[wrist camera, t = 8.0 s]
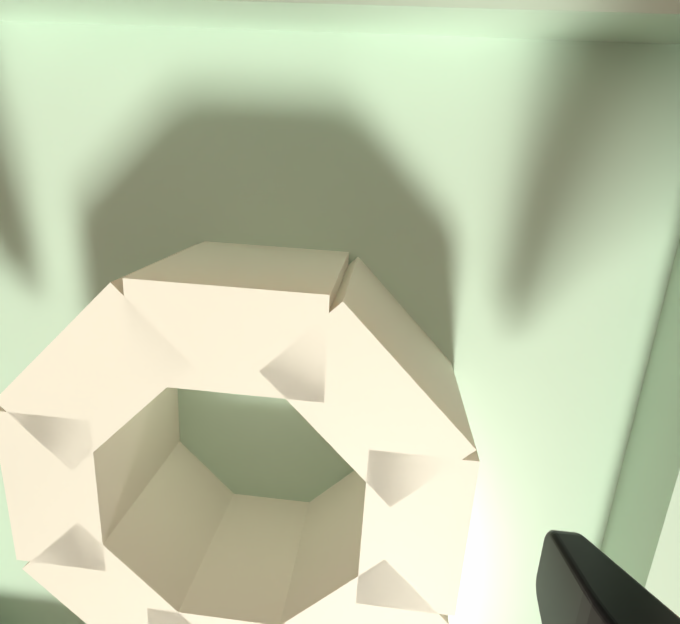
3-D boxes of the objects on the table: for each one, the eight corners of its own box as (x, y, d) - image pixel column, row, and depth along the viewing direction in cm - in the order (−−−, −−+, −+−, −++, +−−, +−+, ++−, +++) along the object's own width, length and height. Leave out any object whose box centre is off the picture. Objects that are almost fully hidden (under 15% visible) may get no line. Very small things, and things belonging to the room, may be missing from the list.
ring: (121, 535, 12) (33, 659, 9) (94, 232, 10) (-34, 265, 7) (426, 572, 11) (438, 717, 8) (468, 261, 9) (504, 309, 6)
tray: (-6, 629, 14) (-77, 714, 12) (-139, -26, 9) (-297, -80, 7) (580, 708, 13) (617, 818, 10) (772, -1, 8) (909, -58, 6)
